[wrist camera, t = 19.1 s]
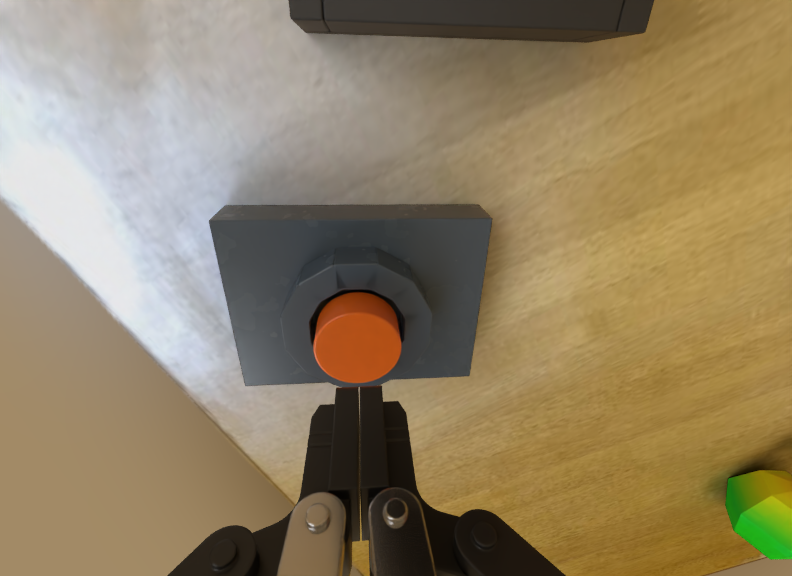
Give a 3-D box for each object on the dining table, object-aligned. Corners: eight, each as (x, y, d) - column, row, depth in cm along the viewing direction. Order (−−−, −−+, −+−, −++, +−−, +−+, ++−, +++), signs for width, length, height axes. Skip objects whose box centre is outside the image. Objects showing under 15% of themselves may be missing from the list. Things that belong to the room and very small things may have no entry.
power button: (320, 359, 18) (316, 385, 16) (314, 292, 16) (309, 314, 15) (397, 356, 18) (400, 382, 17) (398, 290, 16) (403, 311, 15)
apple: (813, 605, 27) (910, 534, 23) (708, 544, 30) (776, 471, 26) (794, 526, 32) (869, 457, 28) (706, 481, 35) (762, 412, 31)
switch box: (254, 359, 22) (235, 412, 18) (224, 205, 18) (191, 235, 14) (460, 351, 23) (478, 400, 19) (478, 204, 19) (507, 232, 15)
